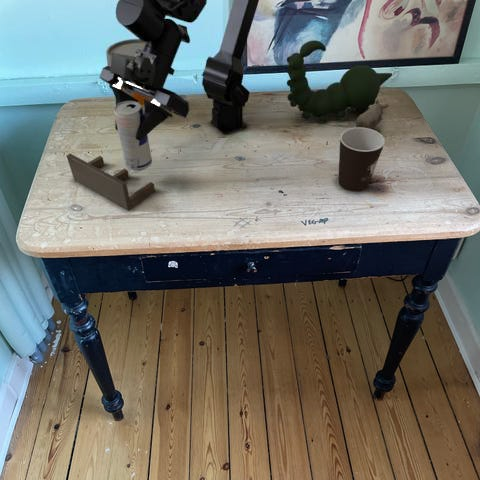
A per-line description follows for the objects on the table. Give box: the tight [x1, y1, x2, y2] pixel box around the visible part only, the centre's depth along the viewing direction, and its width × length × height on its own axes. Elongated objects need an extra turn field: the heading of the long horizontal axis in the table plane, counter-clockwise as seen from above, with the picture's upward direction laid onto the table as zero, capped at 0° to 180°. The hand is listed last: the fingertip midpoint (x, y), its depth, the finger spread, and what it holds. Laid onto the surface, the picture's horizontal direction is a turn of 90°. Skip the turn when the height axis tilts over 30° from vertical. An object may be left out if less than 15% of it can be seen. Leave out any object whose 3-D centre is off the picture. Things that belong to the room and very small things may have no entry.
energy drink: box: [113, 101, 153, 172], centre depth 96 cm, size 5×5×12 cm
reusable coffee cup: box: [105, 38, 152, 114], centre depth 116 cm, size 12×12×15 cm
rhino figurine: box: [355, 99, 389, 131], centre depth 114 cm, size 4×14×6 cm, turn 145°
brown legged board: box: [66, 153, 156, 211], centre depth 101 cm, size 8×17×6 cm, turn 52°
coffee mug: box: [337, 127, 386, 193], centre depth 100 cm, size 12×9×10 cm
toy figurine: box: [286, 40, 393, 123], centre depth 114 cm, size 9×19×25 cm
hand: (127, 135), depth 94 cm, fingers closed on energy drink, 5 cm apart
